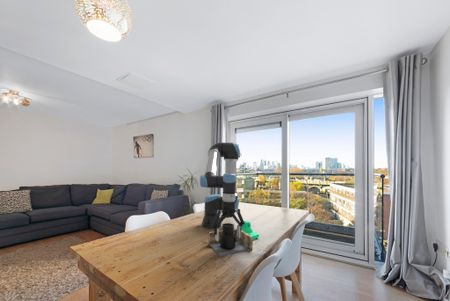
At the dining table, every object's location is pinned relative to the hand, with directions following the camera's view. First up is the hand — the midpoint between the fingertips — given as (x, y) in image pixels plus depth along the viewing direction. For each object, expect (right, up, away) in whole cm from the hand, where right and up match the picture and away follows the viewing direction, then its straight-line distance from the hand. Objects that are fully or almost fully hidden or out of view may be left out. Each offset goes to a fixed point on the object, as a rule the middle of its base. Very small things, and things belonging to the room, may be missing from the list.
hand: (227, 238), depth 113 cm
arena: (+1, -5, +1) cm, 5 cm away
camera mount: (+14, -7, +16) cm, 22 cm away
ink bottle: (0, -4, -1) cm, 4 cm away
